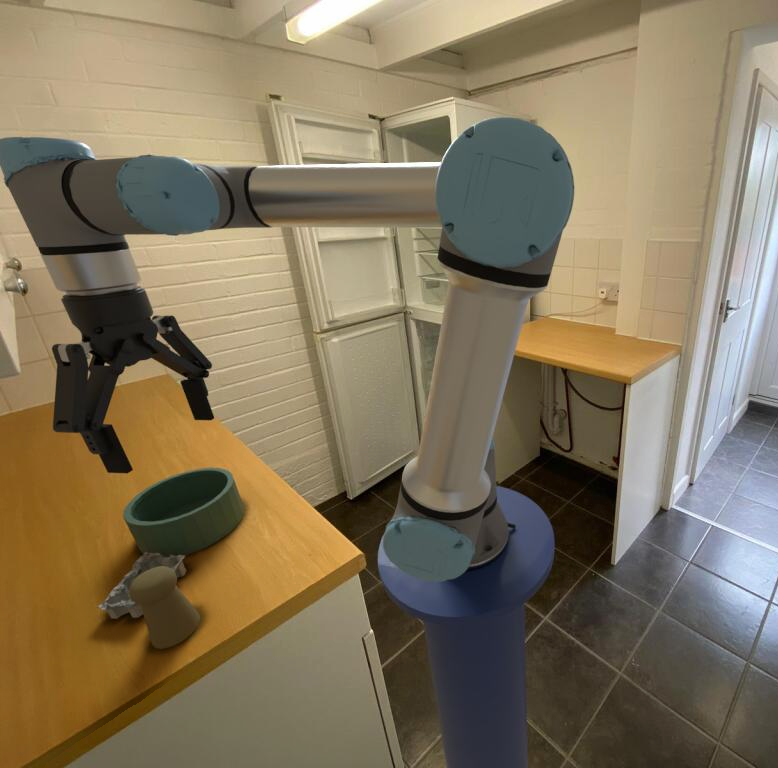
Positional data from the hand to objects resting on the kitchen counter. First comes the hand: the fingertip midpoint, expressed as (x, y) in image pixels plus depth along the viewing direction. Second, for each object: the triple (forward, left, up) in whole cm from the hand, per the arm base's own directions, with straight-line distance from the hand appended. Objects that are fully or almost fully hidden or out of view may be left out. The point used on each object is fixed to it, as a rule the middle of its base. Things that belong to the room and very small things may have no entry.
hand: (167, 442), depth 58 cm
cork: (+3, +7, -29) cm, 30 cm away
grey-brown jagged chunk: (+13, +1, -29) cm, 31 cm away
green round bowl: (+18, -14, -28) cm, 36 cm away
